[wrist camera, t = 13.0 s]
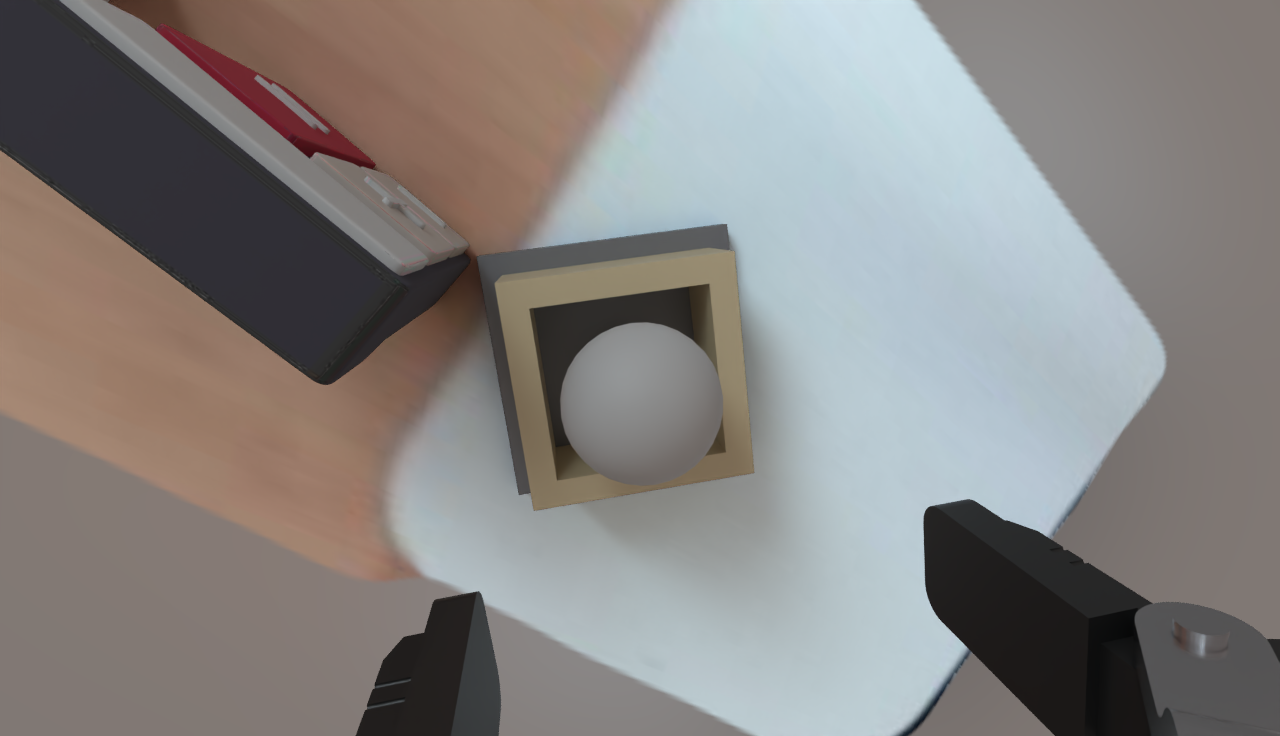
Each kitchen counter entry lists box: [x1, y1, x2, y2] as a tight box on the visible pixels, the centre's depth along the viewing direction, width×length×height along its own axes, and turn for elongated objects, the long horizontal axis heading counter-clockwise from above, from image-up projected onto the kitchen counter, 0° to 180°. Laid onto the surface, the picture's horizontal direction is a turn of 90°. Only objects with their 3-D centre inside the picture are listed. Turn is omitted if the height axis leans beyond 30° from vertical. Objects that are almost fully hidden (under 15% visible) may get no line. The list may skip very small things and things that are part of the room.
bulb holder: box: [477, 224, 754, 511], centre depth 31 cm, size 12×12×6 cm
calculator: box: [0, 0, 470, 385], centre depth 23 cm, size 11×4×15 cm, turn 48°
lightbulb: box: [560, 322, 723, 486], centre depth 27 cm, size 6×6×11 cm
